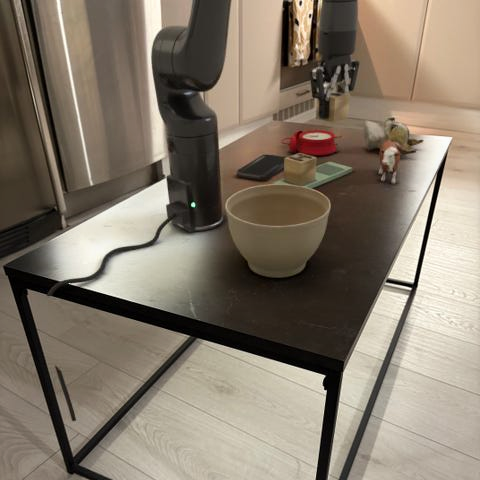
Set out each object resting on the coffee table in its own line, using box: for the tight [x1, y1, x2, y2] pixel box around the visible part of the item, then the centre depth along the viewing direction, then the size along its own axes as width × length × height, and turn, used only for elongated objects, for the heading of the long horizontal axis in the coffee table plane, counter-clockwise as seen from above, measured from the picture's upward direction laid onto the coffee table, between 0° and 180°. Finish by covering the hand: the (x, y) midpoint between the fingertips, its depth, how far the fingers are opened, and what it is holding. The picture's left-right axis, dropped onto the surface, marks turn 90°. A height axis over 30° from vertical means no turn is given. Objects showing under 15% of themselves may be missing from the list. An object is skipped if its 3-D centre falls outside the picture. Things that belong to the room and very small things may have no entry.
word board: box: [271, 161, 354, 189], centre depth 116 cm, size 20×7×1 cm, turn 133°
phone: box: [236, 153, 287, 182], centre depth 122 cm, size 8×1×15 cm
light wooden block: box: [283, 152, 317, 186], centre depth 111 cm, size 5×5×5 cm
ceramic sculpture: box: [363, 117, 424, 156], centre depth 129 cm, size 11×9×15 cm
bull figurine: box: [377, 140, 402, 184], centre depth 113 cm, size 4×13×8 cm, turn 166°
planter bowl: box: [224, 183, 332, 279], centre depth 80 cm, size 16×16×11 cm
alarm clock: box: [280, 129, 343, 156], centre depth 133 cm, size 10×6×15 cm
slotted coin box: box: [315, 90, 351, 124], centre depth 110 cm, size 5×5×5 cm
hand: (331, 115), depth 111 cm, fingers closed on slotted coin box, 5 cm apart
